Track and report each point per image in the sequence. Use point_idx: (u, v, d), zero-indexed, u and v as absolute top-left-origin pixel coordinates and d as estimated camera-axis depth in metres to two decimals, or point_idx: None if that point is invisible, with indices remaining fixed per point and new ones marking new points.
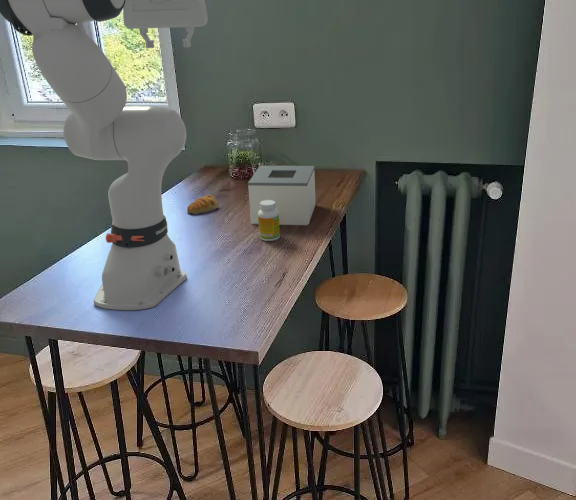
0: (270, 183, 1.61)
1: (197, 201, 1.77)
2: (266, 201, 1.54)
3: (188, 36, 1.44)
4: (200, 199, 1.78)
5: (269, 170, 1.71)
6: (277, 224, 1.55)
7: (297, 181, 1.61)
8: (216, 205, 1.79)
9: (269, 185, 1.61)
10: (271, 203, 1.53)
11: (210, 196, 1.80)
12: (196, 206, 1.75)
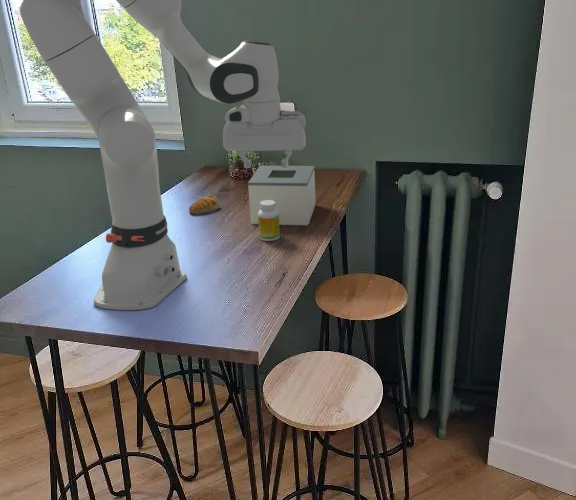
0: (270, 183, 1.61)
1: (199, 201, 1.77)
2: (266, 201, 1.54)
3: None
4: (202, 199, 1.78)
5: (269, 170, 1.71)
6: (277, 224, 1.55)
7: (297, 181, 1.61)
8: (218, 205, 1.79)
9: (269, 185, 1.61)
10: (270, 203, 1.53)
11: (211, 196, 1.79)
12: (198, 207, 1.75)
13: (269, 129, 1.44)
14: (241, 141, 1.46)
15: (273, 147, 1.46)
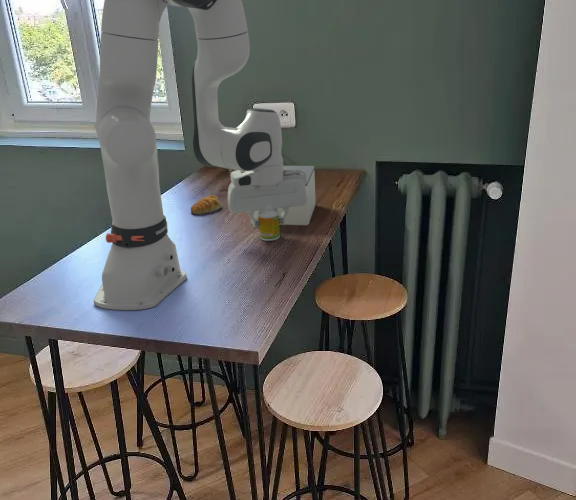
0: None
1: (200, 201, 1.77)
2: None
3: None
4: (203, 199, 1.77)
5: None
6: (277, 224, 1.55)
7: None
8: (219, 205, 1.79)
9: None
10: None
11: (213, 196, 1.79)
12: (199, 207, 1.75)
13: (275, 189, 1.51)
14: (248, 203, 1.51)
15: (278, 205, 1.53)
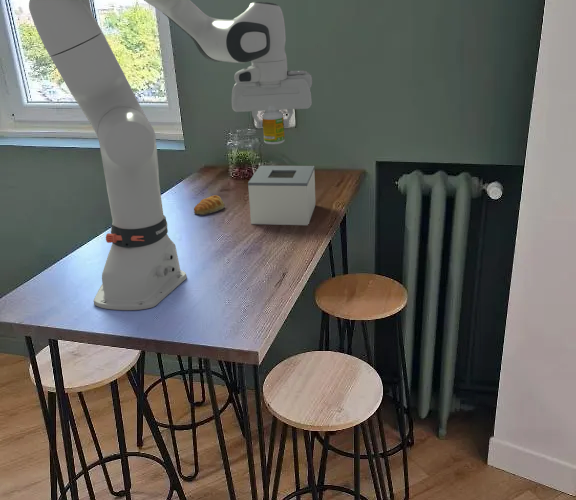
0: (270, 183, 1.61)
1: (203, 202, 1.76)
2: None
3: None
4: (206, 199, 1.77)
5: (269, 170, 1.71)
6: (280, 127, 1.53)
7: (297, 181, 1.61)
8: (222, 205, 1.79)
9: (269, 185, 1.61)
10: None
11: (216, 196, 1.79)
12: (203, 207, 1.74)
13: (278, 88, 1.49)
14: (250, 101, 1.51)
15: (281, 106, 1.51)
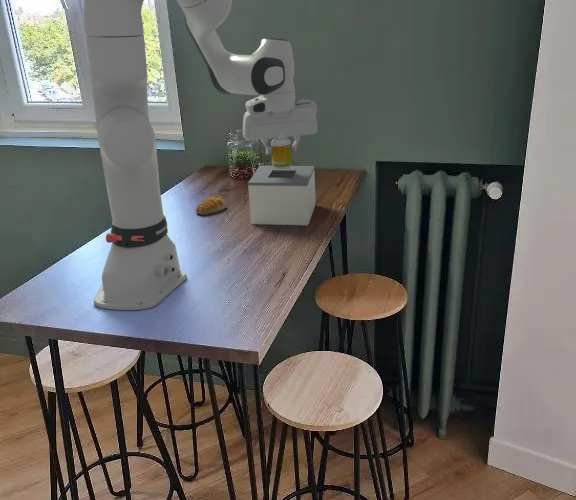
0: (270, 183, 1.61)
1: (205, 202, 1.76)
2: None
3: None
4: (208, 200, 1.77)
5: (269, 170, 1.71)
6: (289, 153, 1.64)
7: (297, 181, 1.61)
8: (224, 205, 1.78)
9: (269, 185, 1.61)
10: None
11: (217, 196, 1.79)
12: (205, 207, 1.74)
13: (287, 117, 1.60)
14: (262, 130, 1.60)
15: (290, 133, 1.62)
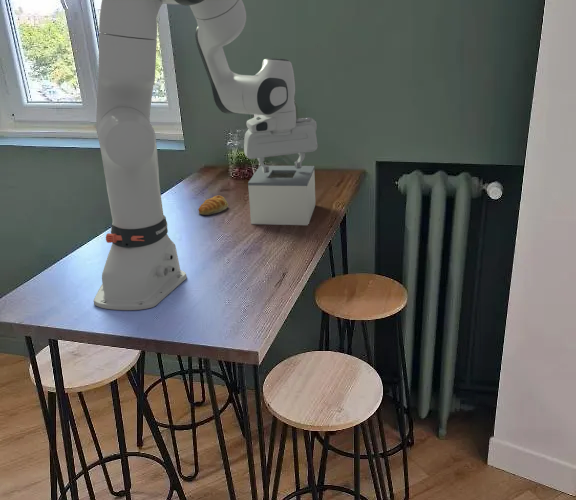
0: (270, 183, 1.61)
1: (208, 202, 1.76)
2: None
3: None
4: (210, 200, 1.77)
5: (269, 170, 1.71)
6: None
7: (297, 181, 1.61)
8: (226, 205, 1.78)
9: (269, 185, 1.61)
10: None
11: (219, 196, 1.79)
12: (208, 207, 1.74)
13: (288, 135, 1.62)
14: (263, 149, 1.61)
15: (291, 151, 1.64)
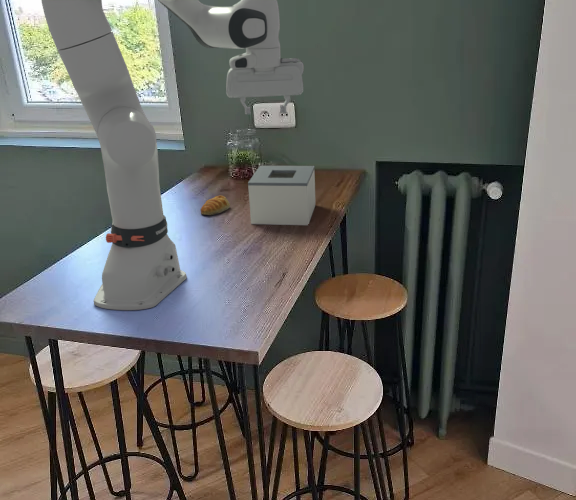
0: (270, 183, 1.61)
1: (210, 202, 1.76)
2: None
3: None
4: (212, 200, 1.77)
5: (269, 170, 1.71)
6: None
7: (297, 181, 1.61)
8: (228, 205, 1.78)
9: (269, 185, 1.61)
10: None
11: (221, 196, 1.79)
12: (210, 207, 1.74)
13: (271, 75, 1.55)
14: (244, 88, 1.55)
15: (274, 92, 1.57)
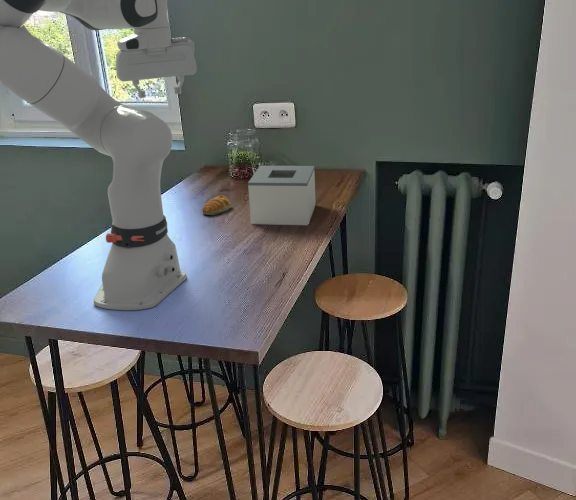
0: (270, 183, 1.61)
1: (211, 202, 1.76)
2: None
3: None
4: (214, 200, 1.77)
5: (269, 170, 1.71)
6: None
7: (297, 181, 1.61)
8: (230, 205, 1.78)
9: (269, 185, 1.61)
10: None
11: (222, 196, 1.79)
12: (212, 207, 1.74)
13: (164, 55, 1.52)
14: (137, 70, 1.51)
15: (168, 73, 1.54)
